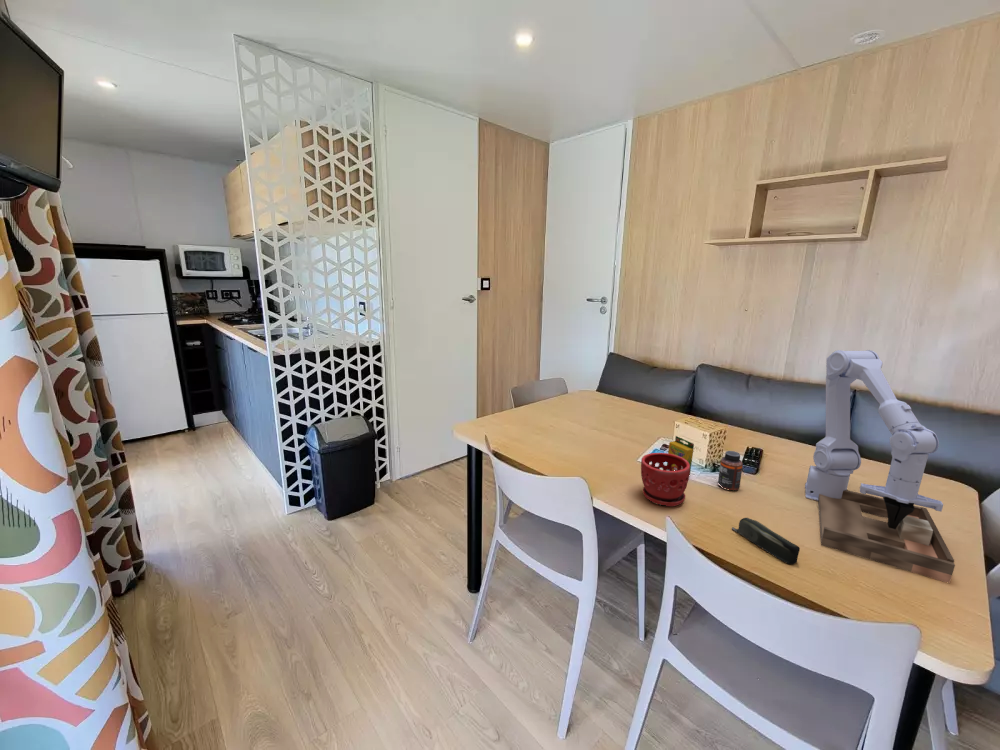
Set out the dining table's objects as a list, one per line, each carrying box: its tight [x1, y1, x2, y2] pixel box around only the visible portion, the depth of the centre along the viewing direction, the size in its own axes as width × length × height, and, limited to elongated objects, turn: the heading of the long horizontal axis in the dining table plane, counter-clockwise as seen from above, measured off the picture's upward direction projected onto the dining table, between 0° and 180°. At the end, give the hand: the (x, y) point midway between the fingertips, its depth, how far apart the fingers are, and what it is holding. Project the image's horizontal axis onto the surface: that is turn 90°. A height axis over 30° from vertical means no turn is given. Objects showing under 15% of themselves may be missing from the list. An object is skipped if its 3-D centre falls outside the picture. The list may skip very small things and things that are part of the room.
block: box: [897, 516, 933, 546], centre depth 100 cm, size 5×5×4 cm
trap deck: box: [817, 489, 956, 584], centre depth 105 cm, size 22×27×5 cm
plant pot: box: [640, 452, 691, 507], centre depth 120 cm, size 13×13×12 cm
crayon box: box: [666, 435, 695, 472], centre depth 136 cm, size 7×3×12 cm, turn 27°
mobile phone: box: [731, 517, 801, 565], centre depth 100 cm, size 5×3×15 cm
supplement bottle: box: [717, 450, 743, 491], centre depth 127 cm, size 6×6×11 cm
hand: (891, 526), depth 103 cm, fingers closed
